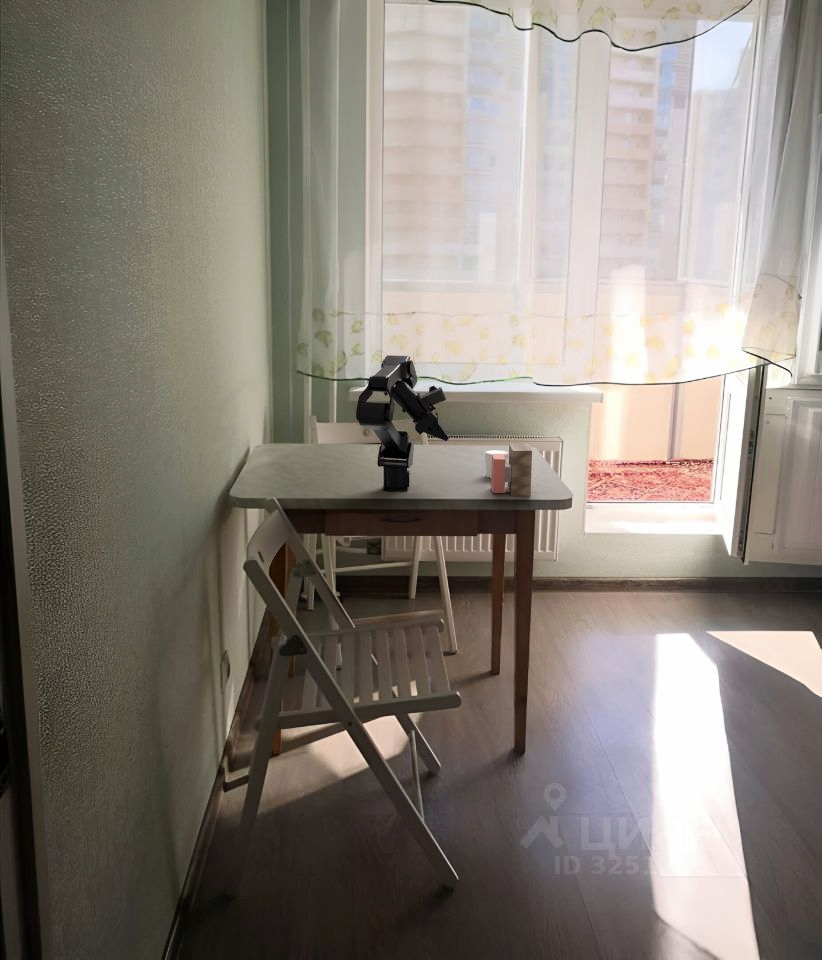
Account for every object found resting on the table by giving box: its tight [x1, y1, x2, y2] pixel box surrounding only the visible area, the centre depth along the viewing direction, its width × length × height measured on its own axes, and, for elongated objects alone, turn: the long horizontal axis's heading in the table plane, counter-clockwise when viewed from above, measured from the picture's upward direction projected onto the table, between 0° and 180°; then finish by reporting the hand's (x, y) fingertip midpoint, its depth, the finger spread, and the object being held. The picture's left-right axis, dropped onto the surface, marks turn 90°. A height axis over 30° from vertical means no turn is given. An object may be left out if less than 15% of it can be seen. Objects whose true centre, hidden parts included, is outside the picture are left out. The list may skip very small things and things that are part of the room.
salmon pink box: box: [490, 454, 511, 494], centre depth 243 cm, size 9×7×9 cm
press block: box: [507, 442, 533, 497], centre depth 243 cm, size 5×10×12 cm, turn 179°
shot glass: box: [484, 449, 509, 479], centre depth 260 cm, size 7×7×7 cm
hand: (447, 439), depth 247 cm, fingers closed
